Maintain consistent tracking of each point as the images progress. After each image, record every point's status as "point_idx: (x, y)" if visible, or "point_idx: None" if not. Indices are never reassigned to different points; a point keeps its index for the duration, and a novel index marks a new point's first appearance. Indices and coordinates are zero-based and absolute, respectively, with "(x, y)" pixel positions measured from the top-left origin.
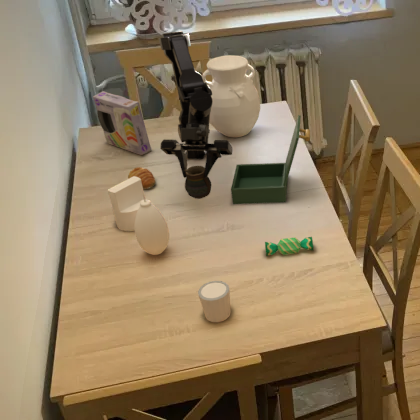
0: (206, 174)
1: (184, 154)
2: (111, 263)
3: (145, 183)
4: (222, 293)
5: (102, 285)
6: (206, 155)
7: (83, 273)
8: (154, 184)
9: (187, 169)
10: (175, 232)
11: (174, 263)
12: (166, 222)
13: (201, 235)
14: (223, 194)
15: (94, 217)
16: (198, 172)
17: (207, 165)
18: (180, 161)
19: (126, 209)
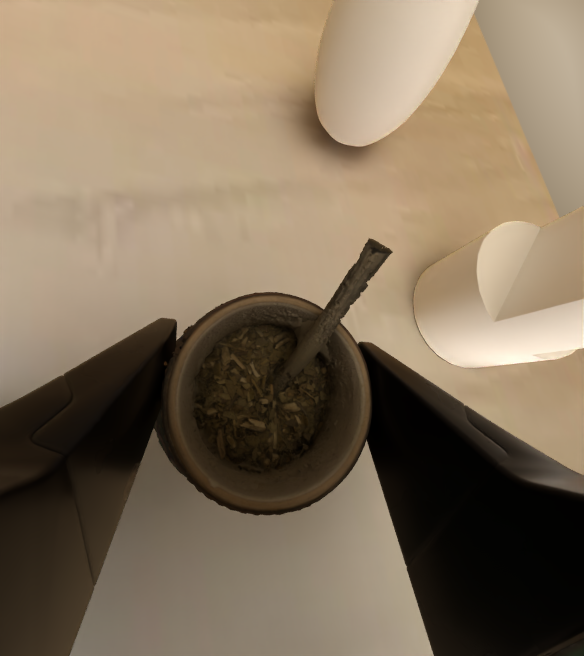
0: (148, 326)
1: (520, 608)
2: (443, 119)
3: None
4: None
5: None
6: (11, 485)
7: (488, 101)
8: None
9: (362, 418)
10: (309, 225)
11: (276, 68)
12: (342, 13)
13: (209, 188)
14: (134, 525)
15: (576, 352)
16: (256, 460)
17: (96, 368)
18: (490, 429)
19: (527, 242)
